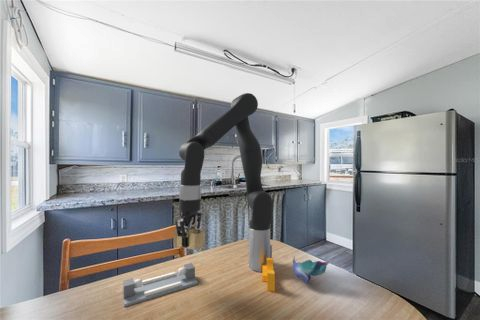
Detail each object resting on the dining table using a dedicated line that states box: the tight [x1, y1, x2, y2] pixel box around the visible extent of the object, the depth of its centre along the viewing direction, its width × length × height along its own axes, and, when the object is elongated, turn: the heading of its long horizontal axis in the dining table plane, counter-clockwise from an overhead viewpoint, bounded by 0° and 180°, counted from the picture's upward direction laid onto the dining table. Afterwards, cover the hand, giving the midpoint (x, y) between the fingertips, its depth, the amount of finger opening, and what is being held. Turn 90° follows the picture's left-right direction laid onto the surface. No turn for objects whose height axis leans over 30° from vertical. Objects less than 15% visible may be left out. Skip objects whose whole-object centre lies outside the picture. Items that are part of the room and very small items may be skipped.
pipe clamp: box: [261, 257, 276, 292], centre depth 80 cm, size 12×4×6 cm, turn 174°
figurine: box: [292, 255, 332, 284], centre depth 80 cm, size 13×12×9 cm
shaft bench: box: [122, 262, 199, 308], centre depth 76 cm, size 24×10×5 cm, turn 121°
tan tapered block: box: [173, 228, 206, 251], centre depth 75 cm, size 10×5×6 cm, turn 71°
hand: (189, 244), depth 75 cm, fingers closed on tan tapered block, 4 cm apart
